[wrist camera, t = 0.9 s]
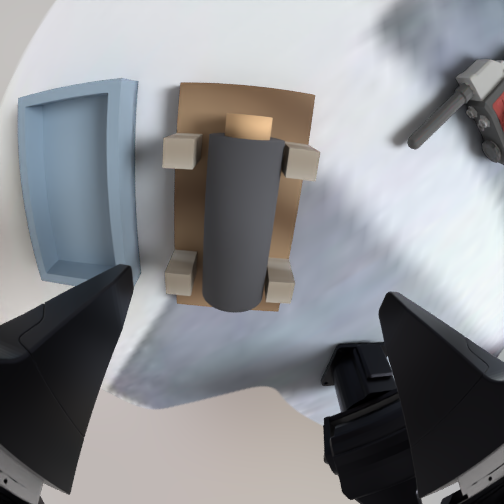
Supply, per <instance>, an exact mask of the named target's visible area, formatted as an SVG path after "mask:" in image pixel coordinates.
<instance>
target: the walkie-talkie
mask: <svg viewBox="0 0 504 504" xmlns="http://www.w3.org/2000/svg"><path fill="white" fill-rule="evenodd" d="M456 80H457V82H458V83H459V85H460V86H459V87H458V88H457V89H456V90H455V92H454V94H453V95H452V96H451V97H450V98H449V99H448V100H447V101H446V102H445V103H444V104H443V105H442V106H441V107H440V108H439V109H438V110H437V111H436V112H434V113H433V114H432V115H431V116H430V117H429V119H428V120H427V121H426V122H425V123H424V124H423V125H422V126H421V127H420V128H419V129H417V130H416V131H415V132H414V133H413V134H412V135H411V136H410V137H409V139H408V142H407V143H408V146H409V147H410V148H412V149H418V148H419V147H420V146H421V145H422V144H423V143H424V142H425V141H426V140H427V139H428V138H429V137H430V136H431V135H432V134H433V133H434V132H436V131H437V130H438V129H439V128H440V127H441V126H442V125H443V124H444V123H445V122H446V121H447V120H448V119H449V118H450V117H451V116H452V115H453V114H454V113H455V112H456V111H457V110H458V109H459V108H460V107H461V106H462V105H463V104H464V103H465V104H466V103H467V102H468V103H467V106H468V109H467V111H466V113H467V115H468V116H469V117H470V118H474V120H475V122H476V124H477V126H478V128H479V130H480V132H481V134H482V137H483V139H484V142H483V143H482V149H483V152H484V153H485V155H486V156H487V157H488V158H489V159H490V160H491V161H493V162H496V163H497V162H498V163H501V164H503V165H504V61H503V60H495V61H494V60H490V59H479V60H476V61H475V62H474V63H473V64H472V65H471V66H470V67H469V68H468V69H467V70H466V71H464V72H463V73H462V74H459V75H458V76H457V77H456Z"/></svg>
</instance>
